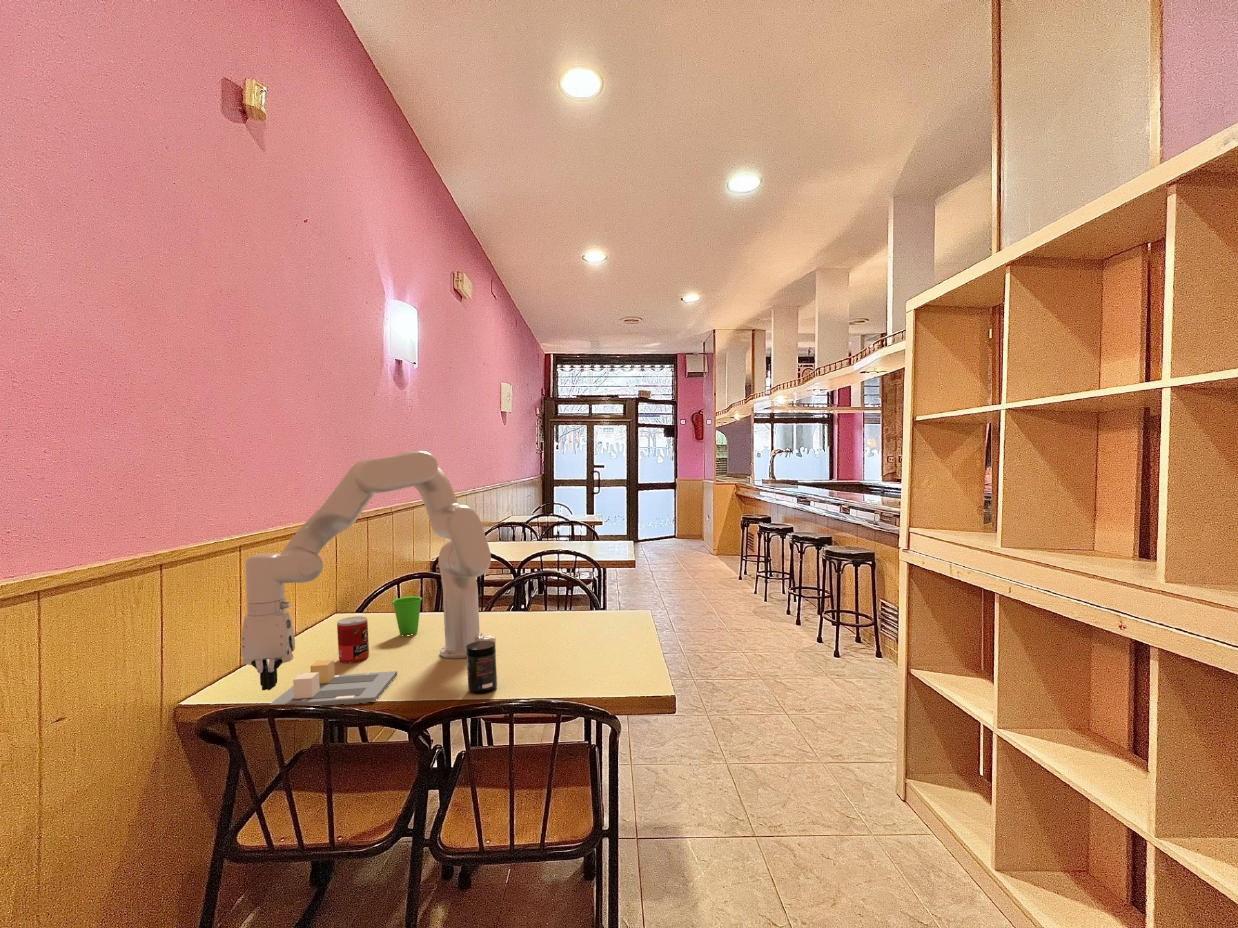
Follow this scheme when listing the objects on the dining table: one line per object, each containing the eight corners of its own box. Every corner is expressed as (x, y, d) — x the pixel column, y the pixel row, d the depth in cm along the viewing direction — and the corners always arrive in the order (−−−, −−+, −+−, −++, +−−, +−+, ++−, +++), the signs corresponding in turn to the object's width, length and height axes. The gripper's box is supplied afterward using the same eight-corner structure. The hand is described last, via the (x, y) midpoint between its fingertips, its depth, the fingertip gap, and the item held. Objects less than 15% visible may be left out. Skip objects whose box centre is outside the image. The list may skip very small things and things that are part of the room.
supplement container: (489, 681, 146) (487, 638, 146) (502, 689, 141) (500, 644, 141) (463, 689, 142) (461, 645, 142) (476, 697, 136) (474, 651, 136)
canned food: (358, 663, 164) (356, 623, 164) (332, 663, 165) (330, 623, 165) (375, 654, 171) (373, 616, 171) (350, 654, 173) (348, 615, 173)
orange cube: (334, 677, 150) (334, 659, 150) (328, 682, 146) (327, 664, 146) (318, 678, 150) (317, 660, 150) (311, 684, 146) (310, 666, 146)
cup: (418, 637, 186) (416, 602, 186) (388, 639, 186) (387, 603, 186) (427, 629, 195) (426, 595, 195) (399, 630, 195) (398, 596, 195)
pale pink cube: (319, 690, 141) (318, 672, 141) (312, 697, 137) (311, 678, 137) (302, 691, 141) (301, 673, 141) (294, 698, 137) (293, 679, 137)
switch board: (397, 675, 153) (397, 670, 153) (375, 702, 136) (374, 696, 136) (303, 682, 151) (303, 676, 151) (269, 709, 134) (269, 704, 134)
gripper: (307, 602, 142) (310, 680, 142) (241, 605, 141) (244, 684, 141) (292, 610, 135) (295, 692, 135) (222, 613, 134) (225, 696, 134)
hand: (269, 687), depth 138 cm, fingers closed
